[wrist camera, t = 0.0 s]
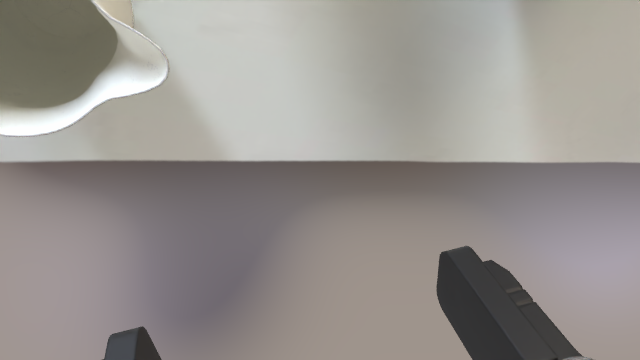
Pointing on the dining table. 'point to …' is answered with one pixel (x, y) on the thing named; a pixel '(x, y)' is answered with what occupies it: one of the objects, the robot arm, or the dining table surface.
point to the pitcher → (69, 62)
